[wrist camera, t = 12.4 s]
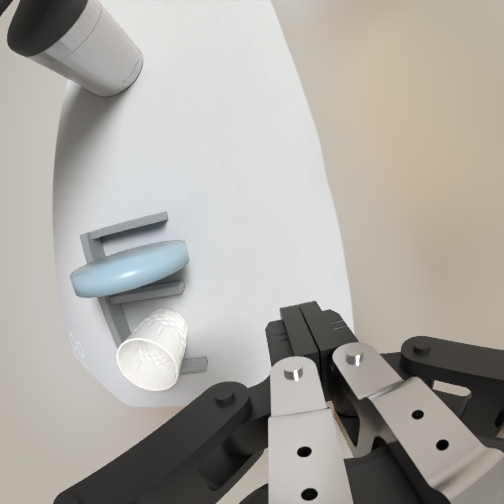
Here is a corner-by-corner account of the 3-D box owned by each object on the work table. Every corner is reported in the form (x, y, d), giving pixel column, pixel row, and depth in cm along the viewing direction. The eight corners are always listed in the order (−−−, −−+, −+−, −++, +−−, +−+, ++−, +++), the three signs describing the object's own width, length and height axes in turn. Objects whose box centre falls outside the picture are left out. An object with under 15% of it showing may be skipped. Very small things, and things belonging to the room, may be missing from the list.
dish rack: (189, 205, 35) (153, 216, 21) (228, 359, 40) (221, 426, 26) (92, 231, 35) (29, 252, 21) (138, 367, 40) (107, 425, 26)
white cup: (147, 349, 39) (125, 388, 30) (137, 304, 38) (109, 336, 28) (195, 351, 39) (183, 393, 30) (189, 304, 38) (171, 339, 28)
